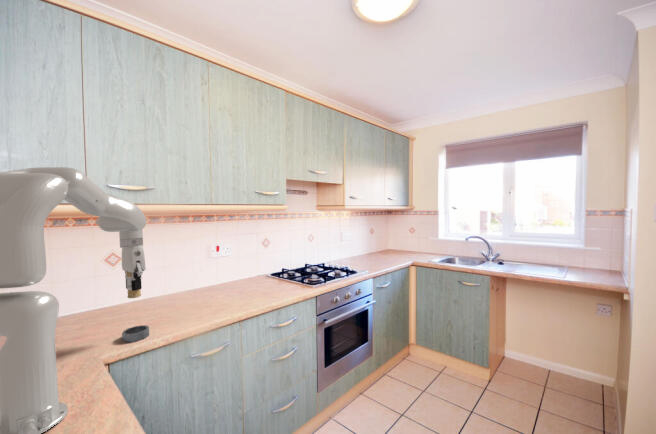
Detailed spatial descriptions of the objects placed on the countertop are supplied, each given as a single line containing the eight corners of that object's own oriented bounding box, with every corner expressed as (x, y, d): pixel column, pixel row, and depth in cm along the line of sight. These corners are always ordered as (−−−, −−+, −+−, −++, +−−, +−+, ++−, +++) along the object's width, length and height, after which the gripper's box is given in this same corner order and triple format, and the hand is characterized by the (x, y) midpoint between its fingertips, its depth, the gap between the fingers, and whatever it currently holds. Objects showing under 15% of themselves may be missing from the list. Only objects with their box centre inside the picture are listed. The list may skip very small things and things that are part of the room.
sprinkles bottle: (143, 295, 113) (142, 262, 112) (131, 299, 109) (130, 264, 108) (136, 294, 115) (135, 261, 114) (124, 297, 110) (122, 263, 110)
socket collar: (153, 335, 113) (152, 328, 113) (128, 344, 106) (127, 336, 106) (143, 330, 118) (142, 323, 118) (119, 339, 111) (118, 331, 111)
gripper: (152, 242, 109) (154, 289, 110) (133, 240, 119) (135, 283, 119) (129, 245, 103) (132, 294, 104) (111, 243, 113) (114, 288, 113)
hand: (133, 288), depth 111 cm, fingers closed on sprinkles bottle, 4 cm apart
